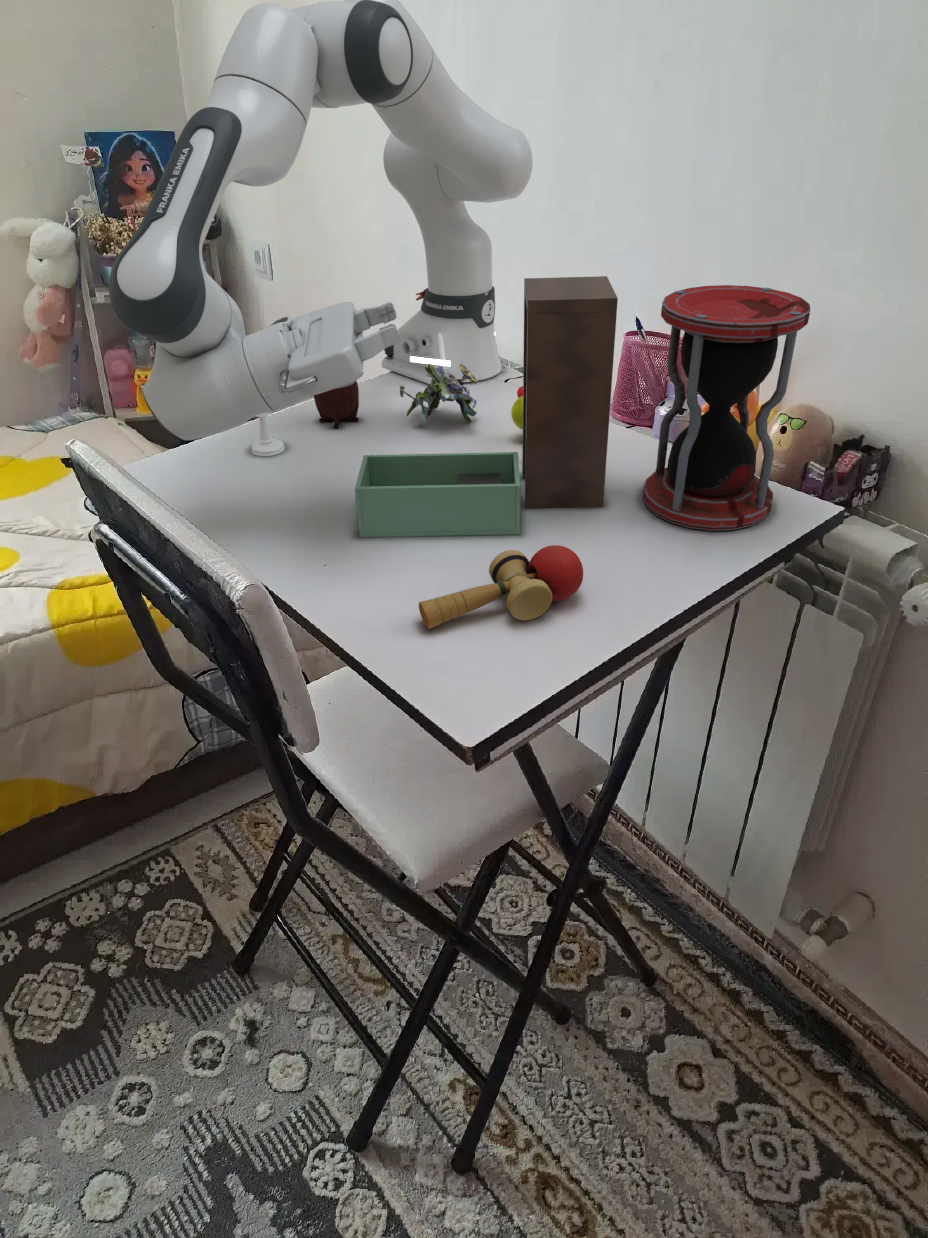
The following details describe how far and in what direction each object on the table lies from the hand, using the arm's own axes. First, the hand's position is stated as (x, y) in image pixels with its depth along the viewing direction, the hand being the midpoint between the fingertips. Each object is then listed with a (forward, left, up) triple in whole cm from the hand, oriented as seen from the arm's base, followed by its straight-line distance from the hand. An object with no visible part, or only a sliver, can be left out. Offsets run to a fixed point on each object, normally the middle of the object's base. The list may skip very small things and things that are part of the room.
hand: (396, 320), depth 97 cm
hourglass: (+30, +23, -24) cm, 45 cm away
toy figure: (0, +28, -24) cm, 37 cm away
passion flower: (-15, +26, -24) cm, 39 cm away
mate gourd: (-29, +18, -24) cm, 42 cm away
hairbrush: (+4, +1, -24) cm, 24 cm away
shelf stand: (+13, +16, -24) cm, 32 cm away
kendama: (+22, -12, -24) cm, 35 cm away
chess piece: (-31, +4, -24) cm, 39 cm away
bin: (+4, +1, -24) cm, 25 cm away
